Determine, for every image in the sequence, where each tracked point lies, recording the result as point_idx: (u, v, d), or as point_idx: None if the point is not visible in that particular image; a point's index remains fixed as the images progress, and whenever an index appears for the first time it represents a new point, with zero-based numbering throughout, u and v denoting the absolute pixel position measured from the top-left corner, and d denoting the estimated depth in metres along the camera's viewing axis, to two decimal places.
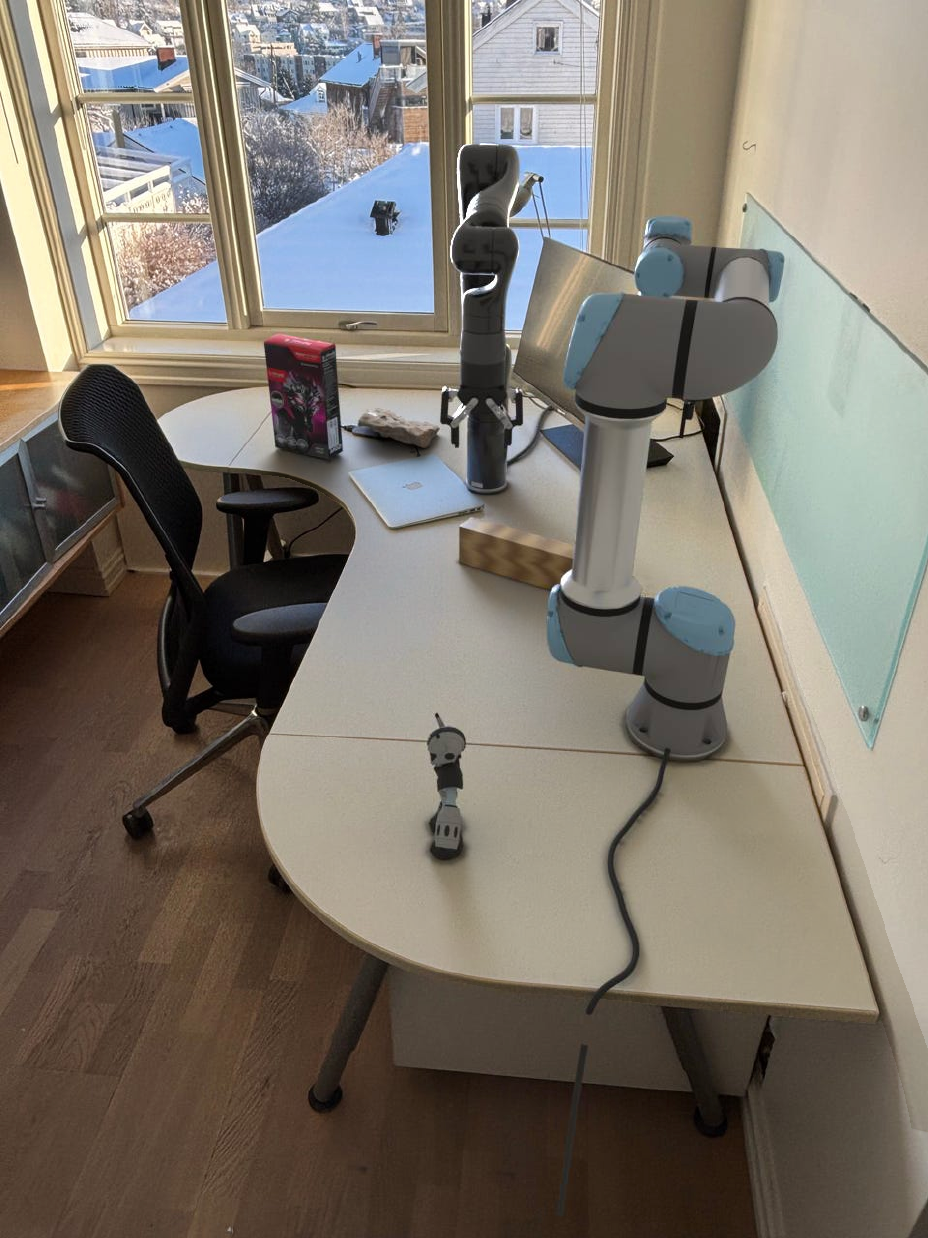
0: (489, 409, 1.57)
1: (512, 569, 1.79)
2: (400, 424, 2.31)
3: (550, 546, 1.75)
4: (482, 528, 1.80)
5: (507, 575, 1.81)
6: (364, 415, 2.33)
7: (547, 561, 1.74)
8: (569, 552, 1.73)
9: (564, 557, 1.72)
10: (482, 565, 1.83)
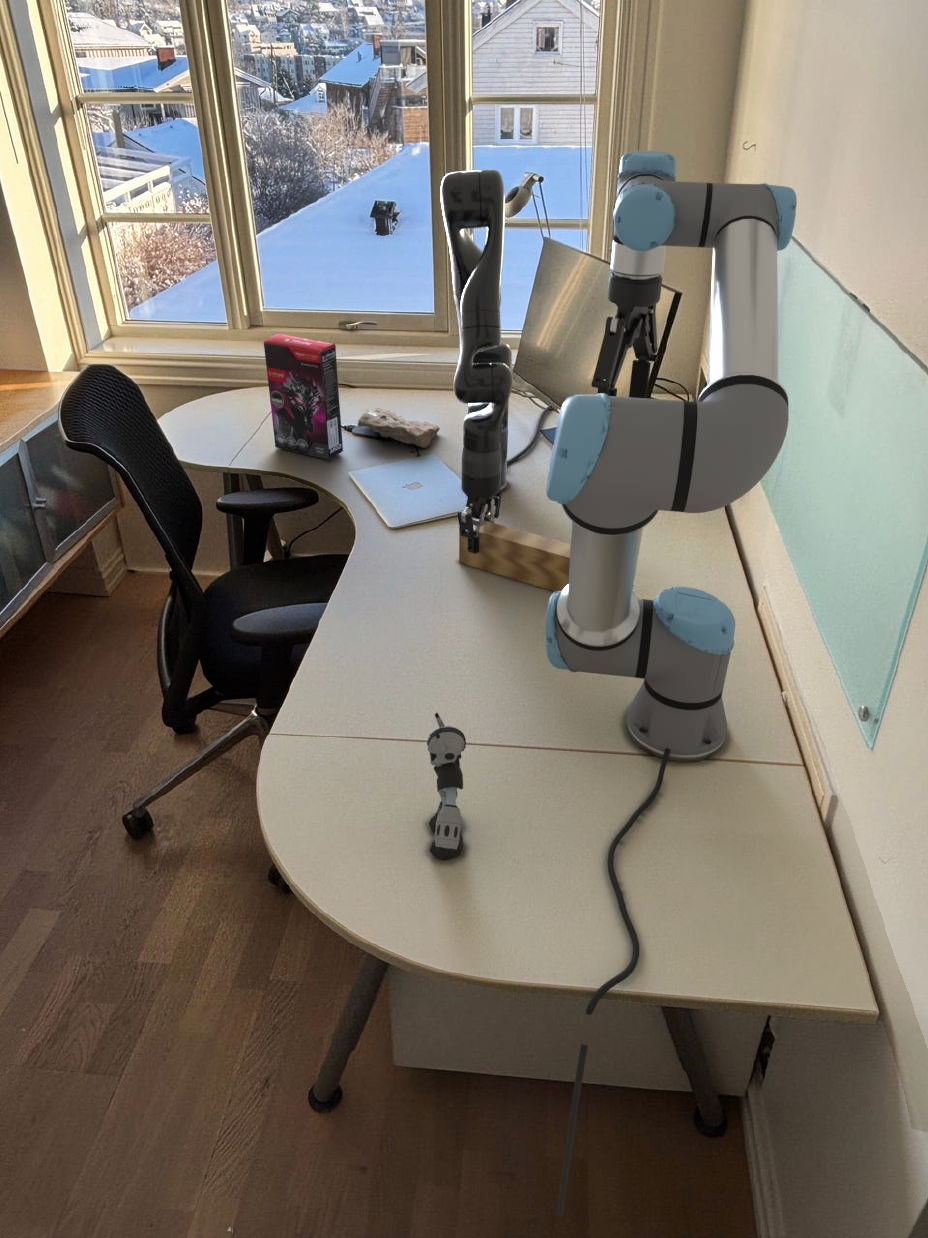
0: (488, 508, 1.80)
1: (512, 569, 1.79)
2: (400, 424, 2.31)
3: (550, 546, 1.75)
4: (482, 528, 1.80)
5: (507, 575, 1.81)
6: (364, 415, 2.33)
7: (547, 561, 1.74)
8: (569, 551, 1.73)
9: (564, 557, 1.72)
10: (482, 565, 1.83)
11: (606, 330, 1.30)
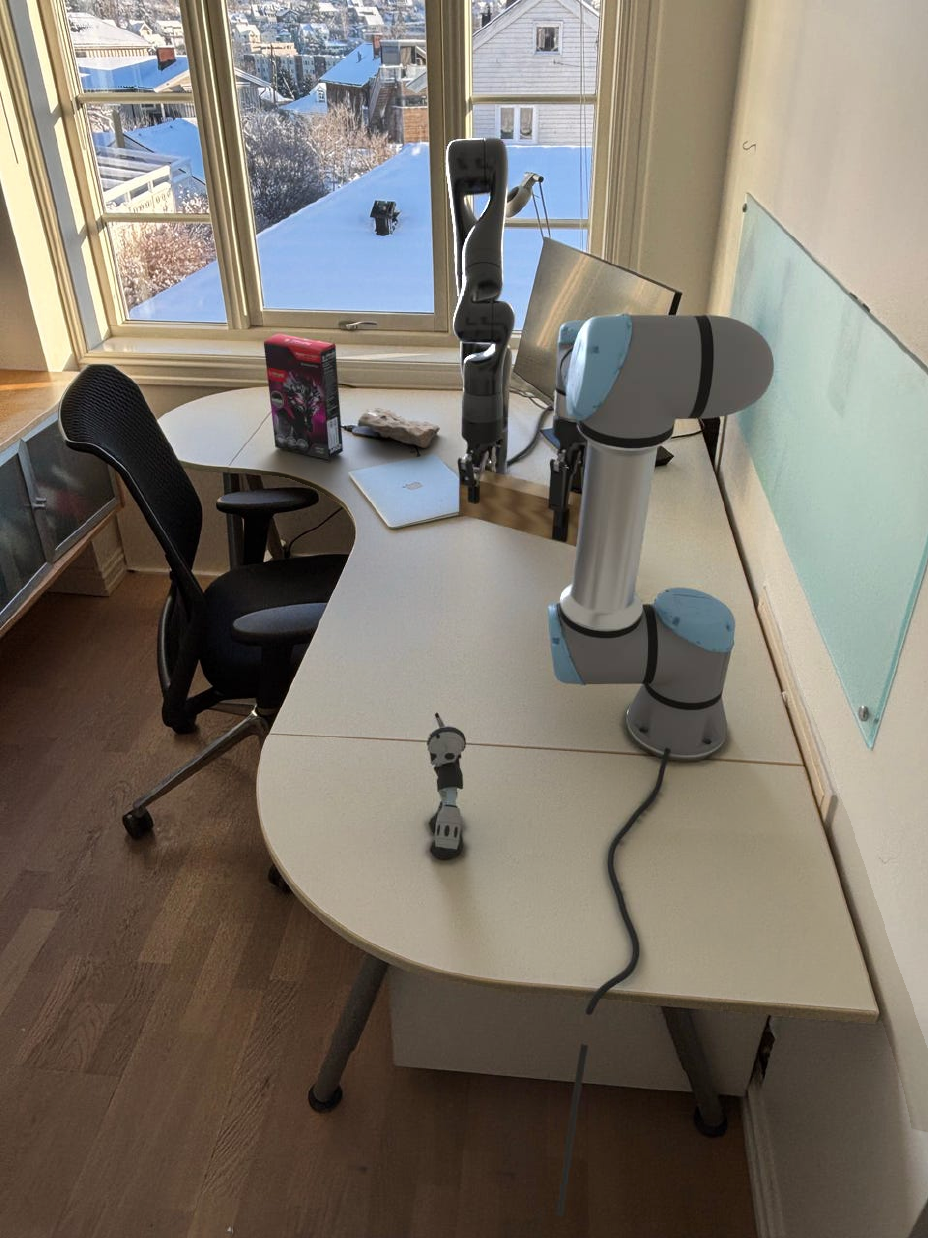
0: (489, 457, 1.74)
1: (514, 519, 1.73)
2: (400, 424, 2.31)
3: None
4: (482, 477, 1.74)
5: (509, 526, 1.75)
6: (364, 415, 2.33)
7: None
8: (573, 499, 1.67)
9: (568, 504, 1.66)
10: (483, 516, 1.77)
11: (551, 469, 1.59)
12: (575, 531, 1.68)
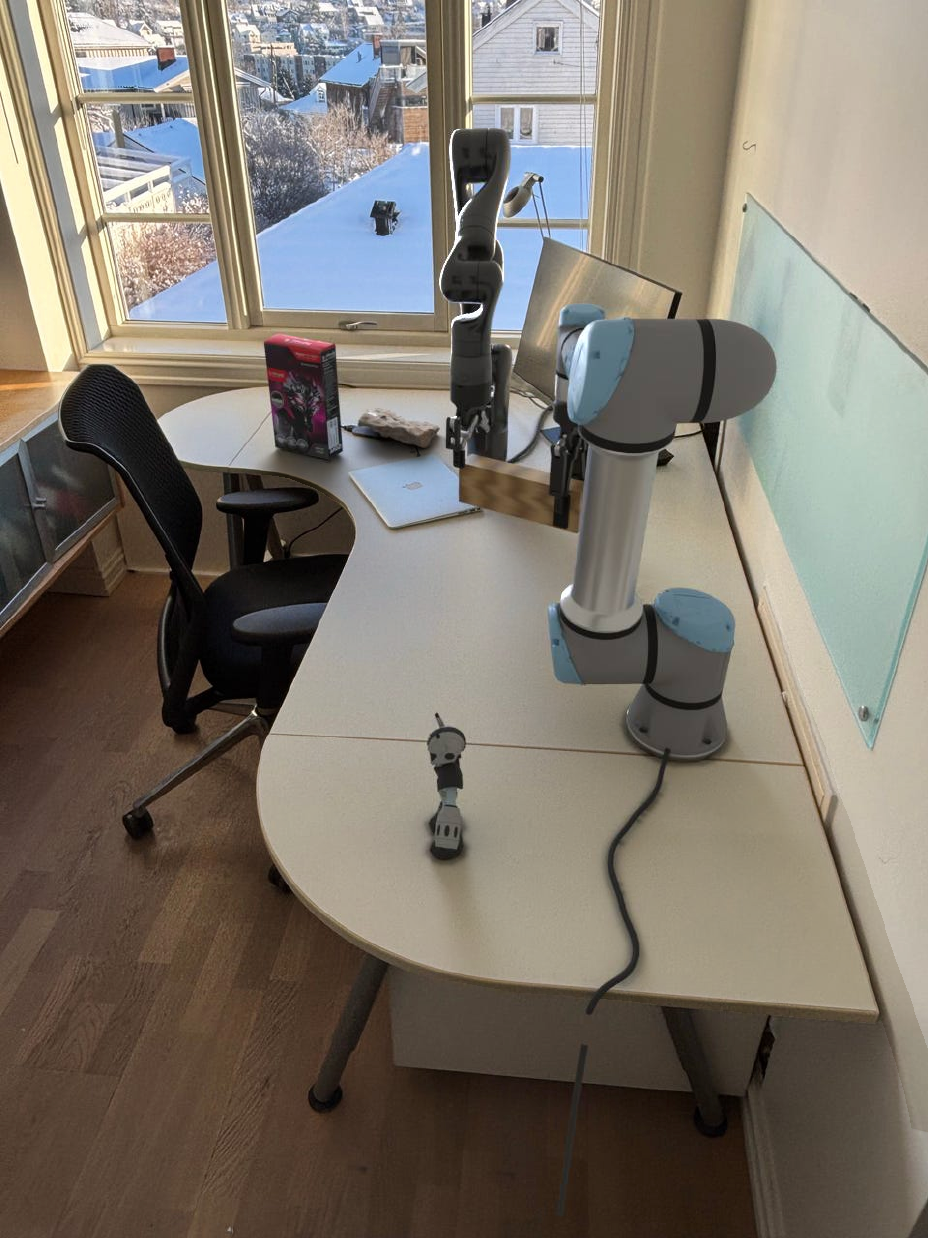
0: (479, 421, 1.71)
1: (514, 506, 1.72)
2: (400, 424, 2.31)
3: None
4: (483, 464, 1.73)
5: (509, 513, 1.73)
6: (364, 415, 2.33)
7: (550, 496, 1.66)
8: (574, 486, 1.65)
9: None
10: (483, 503, 1.75)
11: (552, 455, 1.58)
12: (576, 517, 1.66)
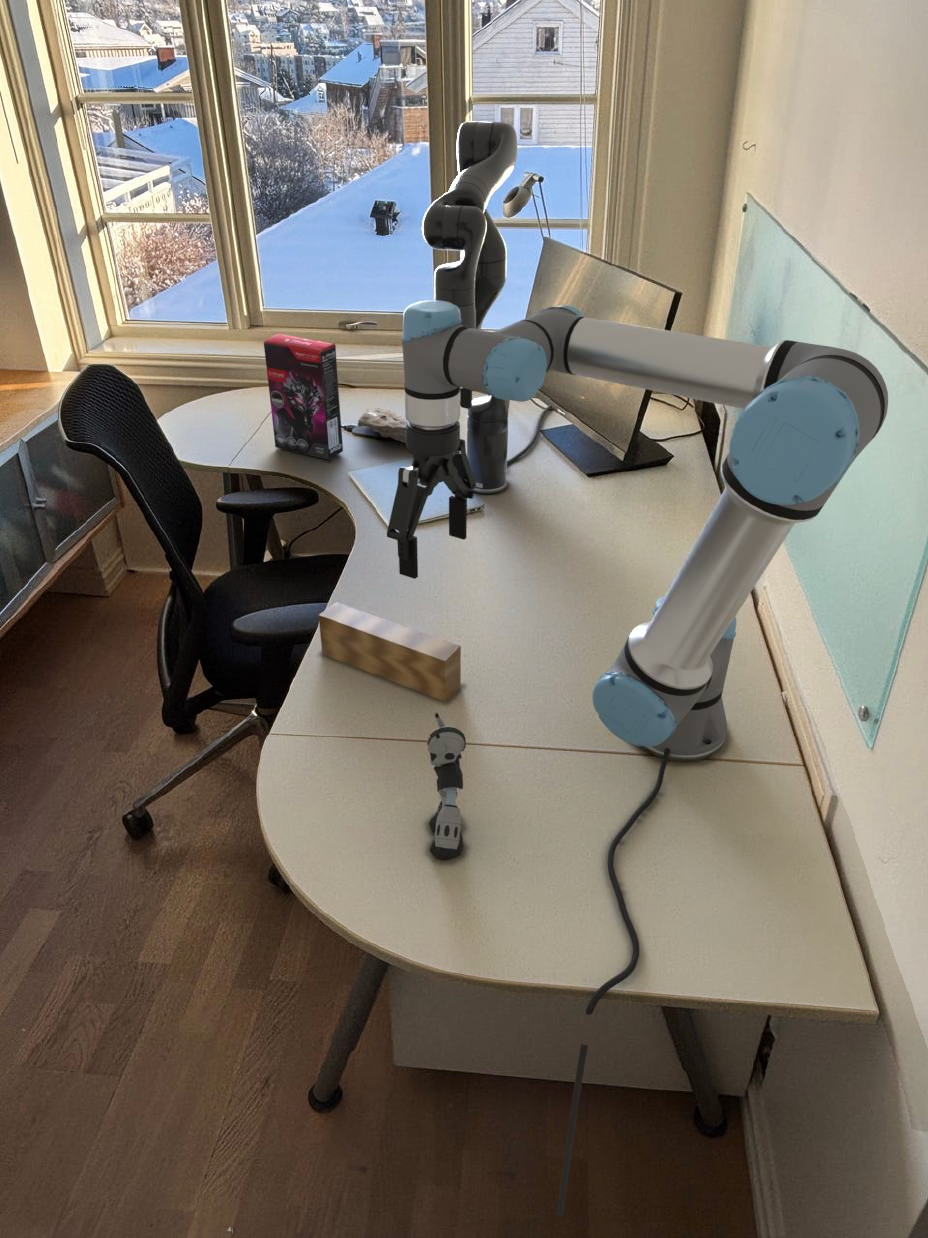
0: None
1: (379, 666, 1.53)
2: (400, 424, 2.31)
3: (418, 642, 1.48)
4: (344, 617, 1.54)
5: (374, 672, 1.54)
6: (364, 415, 2.33)
7: (414, 660, 1.48)
8: (440, 650, 1.46)
9: (432, 657, 1.45)
10: (347, 659, 1.56)
11: (399, 481, 1.25)
12: (442, 685, 1.47)
